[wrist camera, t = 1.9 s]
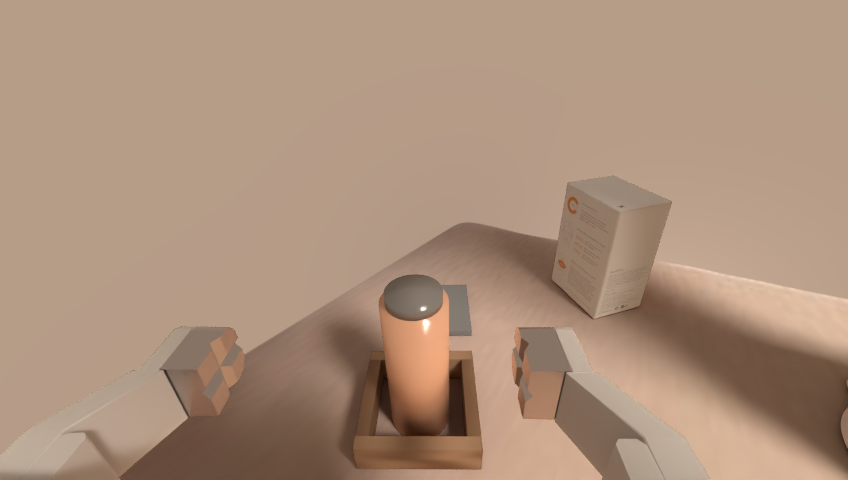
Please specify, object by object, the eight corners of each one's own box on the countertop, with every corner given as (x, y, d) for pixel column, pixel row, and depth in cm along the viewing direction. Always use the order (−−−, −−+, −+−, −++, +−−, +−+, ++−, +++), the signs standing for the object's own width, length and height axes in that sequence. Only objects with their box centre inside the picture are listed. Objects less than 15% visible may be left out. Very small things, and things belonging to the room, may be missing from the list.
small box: (640, 307, 42) (675, 201, 36) (593, 320, 41) (620, 211, 34) (592, 269, 49) (614, 173, 42) (549, 279, 47) (565, 181, 41)
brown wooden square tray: (471, 369, 35) (471, 350, 34) (481, 469, 27) (482, 450, 26) (374, 369, 36) (371, 351, 35) (356, 468, 28) (352, 449, 27)
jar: (448, 388, 34) (447, 271, 27) (450, 440, 29) (450, 315, 23) (395, 388, 34) (382, 271, 27) (389, 440, 30) (372, 316, 23)
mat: (466, 288, 46) (466, 284, 46) (471, 335, 39) (471, 331, 39) (401, 289, 46) (400, 285, 46) (395, 336, 39) (394, 331, 39)
